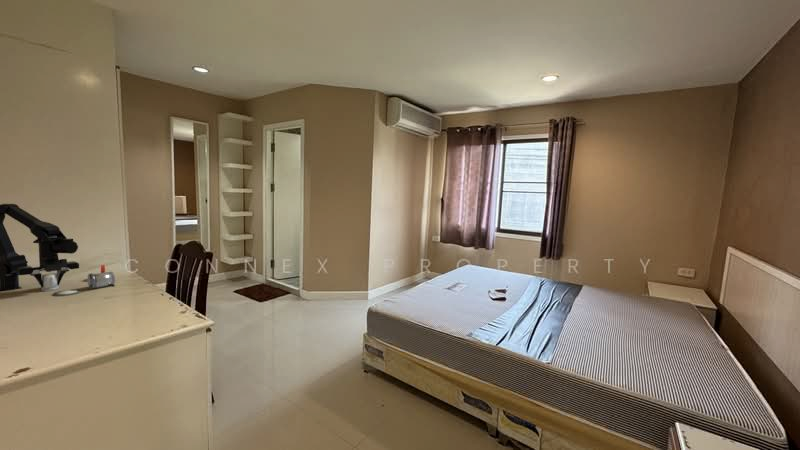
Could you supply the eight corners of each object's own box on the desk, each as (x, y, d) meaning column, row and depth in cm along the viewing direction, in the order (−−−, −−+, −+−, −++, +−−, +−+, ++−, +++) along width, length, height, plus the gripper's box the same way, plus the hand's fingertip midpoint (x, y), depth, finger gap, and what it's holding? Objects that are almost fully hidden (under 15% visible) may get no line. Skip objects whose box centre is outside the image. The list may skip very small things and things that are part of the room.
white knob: (40, 289, 146) (39, 274, 145) (56, 287, 150) (56, 272, 150) (43, 292, 143) (42, 276, 142) (60, 289, 147) (59, 274, 147)
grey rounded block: (87, 287, 152) (86, 272, 151) (108, 284, 158) (108, 269, 158) (93, 290, 147) (93, 275, 147) (115, 287, 154) (115, 272, 153)
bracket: (93, 279, 165) (92, 264, 164) (105, 278, 168) (104, 263, 167) (90, 285, 156) (90, 269, 155) (103, 284, 159) (102, 268, 158)
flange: (50, 293, 141) (50, 292, 141) (78, 288, 149) (78, 287, 149) (56, 297, 137) (56, 296, 137) (84, 292, 144) (84, 291, 144)
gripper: (21, 258, 133) (23, 294, 134) (82, 252, 149) (83, 285, 150) (15, 254, 139) (17, 289, 140) (74, 249, 155) (76, 281, 156)
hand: (50, 286), depth 146 cm, fingers closed on white knob, 5 cm apart
